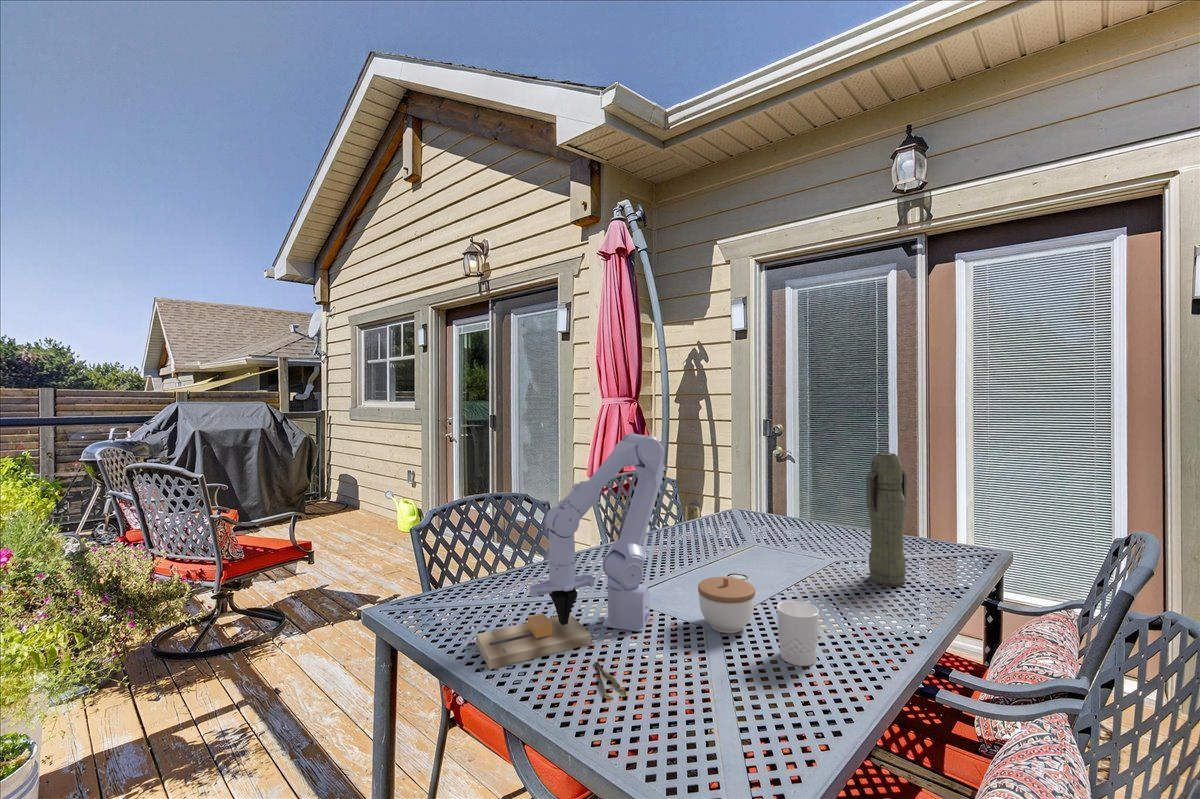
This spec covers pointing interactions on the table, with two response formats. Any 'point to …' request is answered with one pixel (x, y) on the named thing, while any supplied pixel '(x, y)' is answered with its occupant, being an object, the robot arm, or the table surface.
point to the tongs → (610, 680)
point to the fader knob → (539, 625)
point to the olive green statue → (886, 519)
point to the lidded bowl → (726, 603)
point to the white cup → (798, 632)
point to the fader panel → (529, 642)
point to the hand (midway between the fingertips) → (563, 622)
